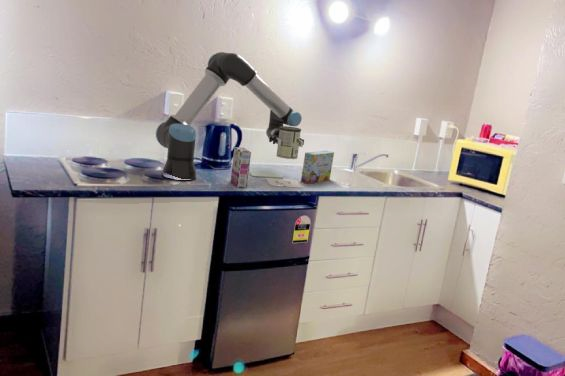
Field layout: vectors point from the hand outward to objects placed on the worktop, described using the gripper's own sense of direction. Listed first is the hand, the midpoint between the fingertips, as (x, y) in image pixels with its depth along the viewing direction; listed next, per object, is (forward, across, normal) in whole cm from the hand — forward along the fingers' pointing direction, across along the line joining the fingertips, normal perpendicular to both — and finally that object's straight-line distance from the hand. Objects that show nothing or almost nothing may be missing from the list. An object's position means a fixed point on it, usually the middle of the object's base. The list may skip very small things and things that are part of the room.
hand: (291, 143), depth 229 cm
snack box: (-13, -20, -20) cm, 31 cm away
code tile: (-4, 0, -20) cm, 20 cm away
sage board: (-21, +6, -20) cm, 30 cm away
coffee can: (-4, 0, -8) cm, 9 cm away
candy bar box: (+6, +24, -20) cm, 32 cm away
